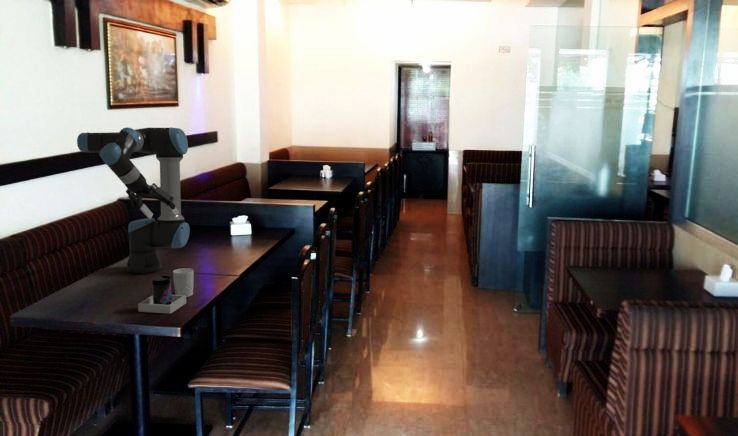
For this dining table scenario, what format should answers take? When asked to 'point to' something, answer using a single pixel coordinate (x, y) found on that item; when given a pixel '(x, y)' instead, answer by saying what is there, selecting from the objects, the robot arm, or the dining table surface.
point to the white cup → (183, 281)
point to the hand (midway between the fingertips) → (164, 215)
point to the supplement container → (161, 290)
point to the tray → (159, 308)
